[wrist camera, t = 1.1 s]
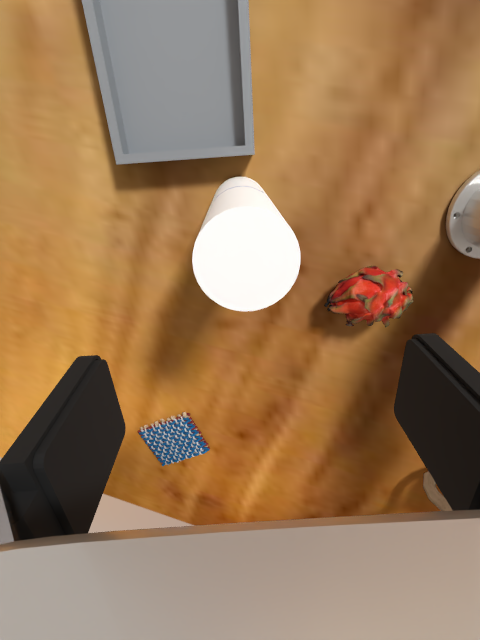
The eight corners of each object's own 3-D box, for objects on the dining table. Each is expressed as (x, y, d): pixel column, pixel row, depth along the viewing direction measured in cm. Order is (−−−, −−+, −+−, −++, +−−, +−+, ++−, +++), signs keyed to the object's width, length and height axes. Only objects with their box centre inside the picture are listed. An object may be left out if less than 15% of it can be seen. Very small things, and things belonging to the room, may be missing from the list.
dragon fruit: (400, 281, 51) (320, 289, 54) (414, 247, 44) (321, 257, 46) (412, 332, 48) (326, 338, 50) (430, 304, 40) (327, 312, 42)
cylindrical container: (224, 167, 42) (214, 187, 20) (275, 189, 44) (319, 232, 21) (205, 221, 45) (178, 290, 23) (254, 240, 46) (273, 324, 24)
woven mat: (136, 424, 62) (133, 433, 60) (188, 407, 61) (186, 415, 59) (163, 460, 67) (161, 469, 65) (211, 445, 65) (211, 454, 63)
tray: (242, -106, 32) (242, -134, 28) (252, 154, 42) (254, 154, 38) (74, -92, 32) (56, -118, 29) (125, 163, 42) (116, 164, 39)
